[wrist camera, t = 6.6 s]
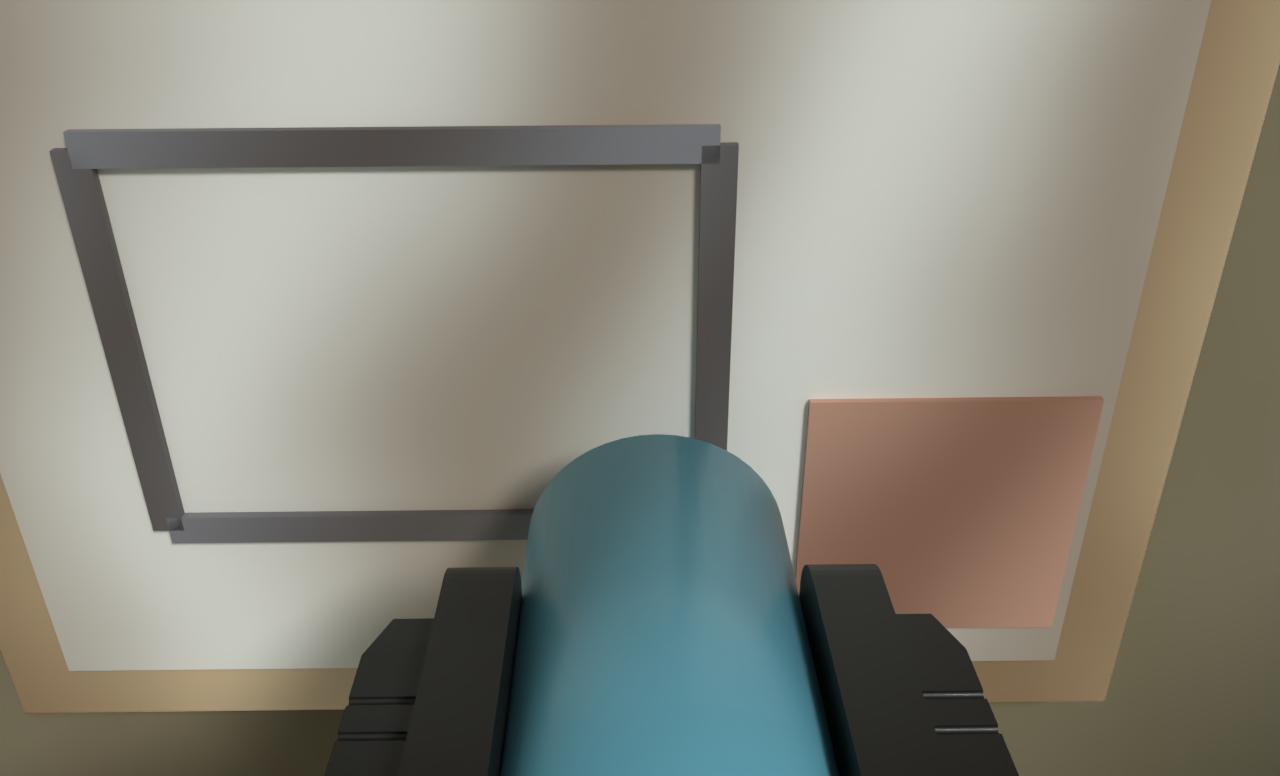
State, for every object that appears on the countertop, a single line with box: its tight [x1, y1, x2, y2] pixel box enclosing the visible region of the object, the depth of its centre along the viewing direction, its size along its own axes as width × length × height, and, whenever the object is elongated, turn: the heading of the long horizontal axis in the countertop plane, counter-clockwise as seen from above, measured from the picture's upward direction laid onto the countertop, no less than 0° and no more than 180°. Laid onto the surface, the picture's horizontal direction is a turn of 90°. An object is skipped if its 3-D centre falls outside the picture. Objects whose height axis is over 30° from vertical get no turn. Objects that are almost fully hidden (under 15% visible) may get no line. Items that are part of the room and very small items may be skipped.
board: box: [0, 0, 1280, 713], centre depth 13 cm, size 16×12×1 cm
